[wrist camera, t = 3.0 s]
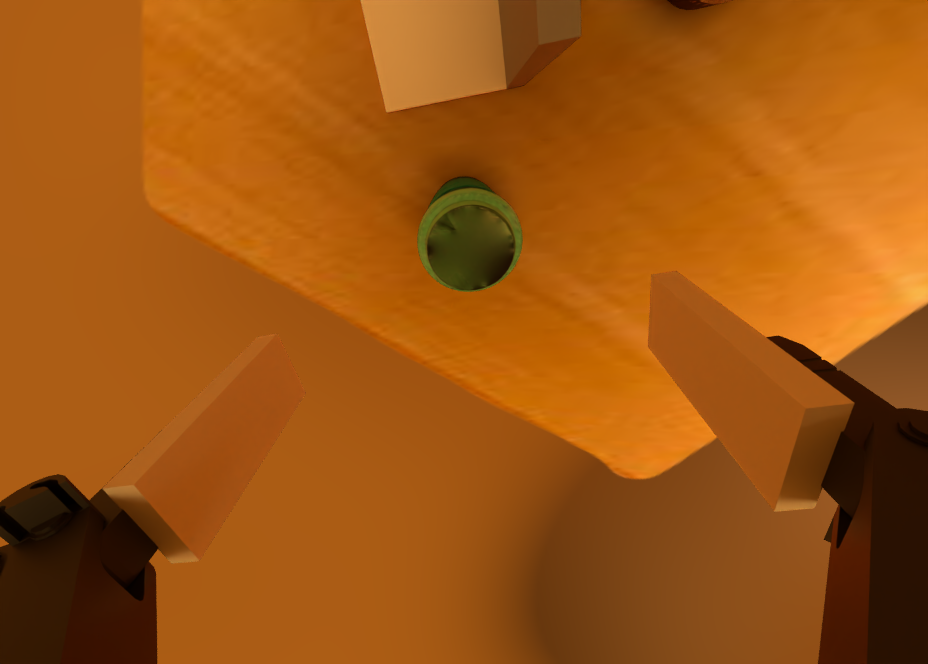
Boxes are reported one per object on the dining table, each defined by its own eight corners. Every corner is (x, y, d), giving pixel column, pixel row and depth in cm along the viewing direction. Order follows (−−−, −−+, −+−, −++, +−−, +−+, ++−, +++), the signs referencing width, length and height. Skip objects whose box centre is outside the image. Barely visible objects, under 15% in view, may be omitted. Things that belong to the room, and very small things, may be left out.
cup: (480, 151, 35) (480, 164, 25) (528, 222, 38) (546, 260, 28) (415, 206, 38) (390, 238, 28) (465, 268, 41) (459, 319, 31)
